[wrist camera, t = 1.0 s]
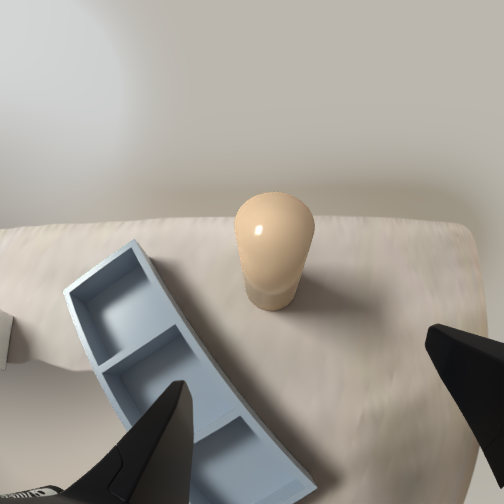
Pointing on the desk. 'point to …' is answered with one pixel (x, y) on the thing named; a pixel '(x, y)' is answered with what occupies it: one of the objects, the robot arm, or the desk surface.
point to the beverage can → (35, 492)
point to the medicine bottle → (4, 337)
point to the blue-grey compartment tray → (177, 368)
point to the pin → (273, 247)
